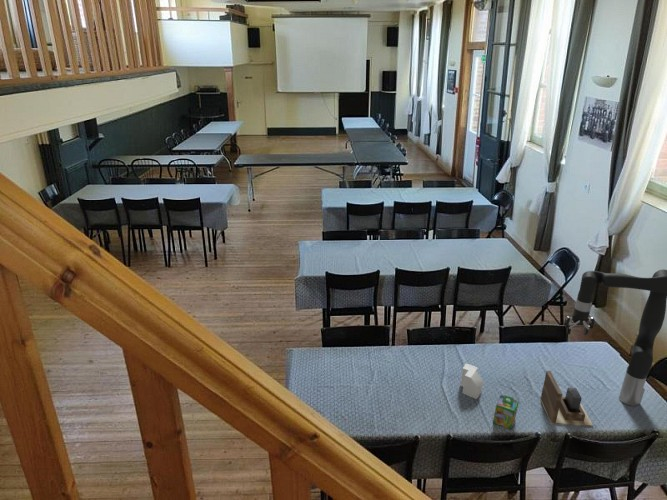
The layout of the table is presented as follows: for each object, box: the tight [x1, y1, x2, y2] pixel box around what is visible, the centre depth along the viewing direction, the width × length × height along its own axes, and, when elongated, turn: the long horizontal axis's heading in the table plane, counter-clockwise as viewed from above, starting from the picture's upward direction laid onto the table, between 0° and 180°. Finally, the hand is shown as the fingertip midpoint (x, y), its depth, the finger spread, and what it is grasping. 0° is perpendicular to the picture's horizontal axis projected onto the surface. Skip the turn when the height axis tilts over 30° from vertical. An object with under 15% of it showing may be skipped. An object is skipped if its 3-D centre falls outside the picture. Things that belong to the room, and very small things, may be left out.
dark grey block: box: [564, 386, 583, 412], centre depth 247 cm, size 4×8×12 cm, turn 175°
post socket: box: [540, 370, 594, 427], centre depth 246 cm, size 20×18×19 cm
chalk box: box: [492, 395, 519, 430], centre depth 241 cm, size 9×9×15 cm
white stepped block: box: [460, 363, 484, 400], centre depth 264 cm, size 11×11×12 cm
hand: (576, 334), depth 260 cm, fingers open, 8 cm apart
